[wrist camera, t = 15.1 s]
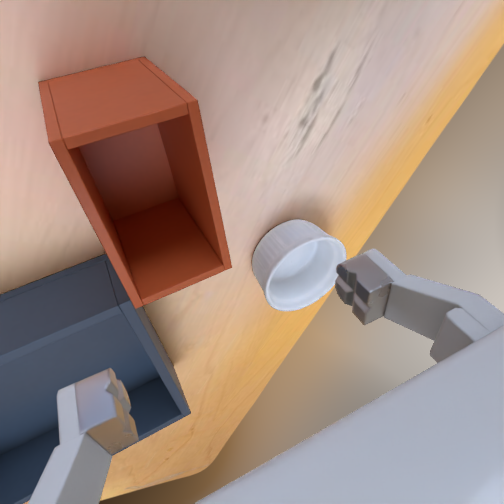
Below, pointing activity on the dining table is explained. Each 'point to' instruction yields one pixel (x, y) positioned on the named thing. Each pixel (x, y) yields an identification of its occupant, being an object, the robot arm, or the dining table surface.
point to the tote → (139, 174)
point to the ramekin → (296, 264)
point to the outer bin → (73, 364)
